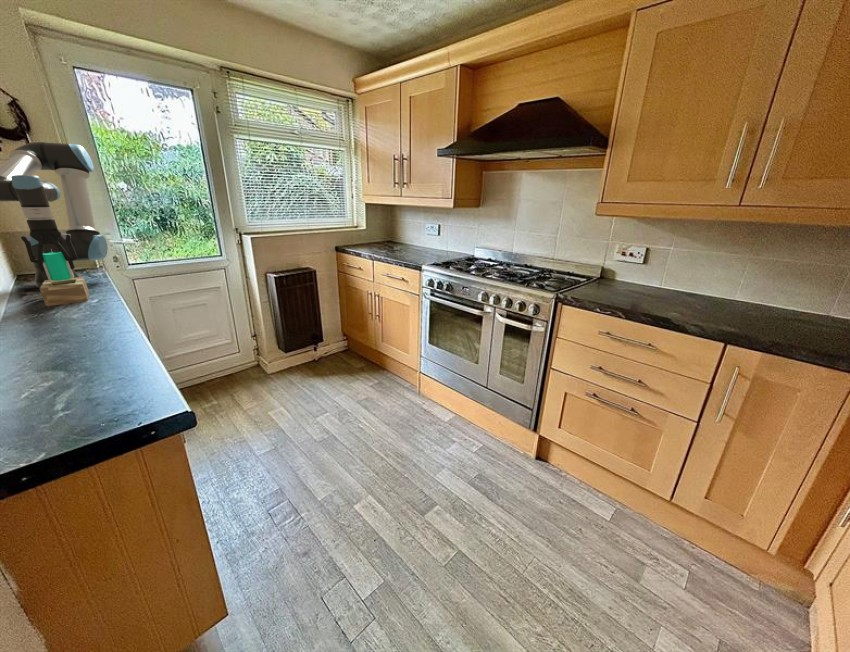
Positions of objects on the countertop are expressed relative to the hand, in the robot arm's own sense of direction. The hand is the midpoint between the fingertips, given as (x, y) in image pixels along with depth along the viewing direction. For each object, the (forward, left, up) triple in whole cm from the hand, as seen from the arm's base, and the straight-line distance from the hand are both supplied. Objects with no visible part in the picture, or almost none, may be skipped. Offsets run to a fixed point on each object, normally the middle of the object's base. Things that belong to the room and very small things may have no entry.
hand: (61, 278), depth 142 cm
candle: (0, 0, -1) cm, 1 cm away
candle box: (0, 0, -9) cm, 9 cm away
